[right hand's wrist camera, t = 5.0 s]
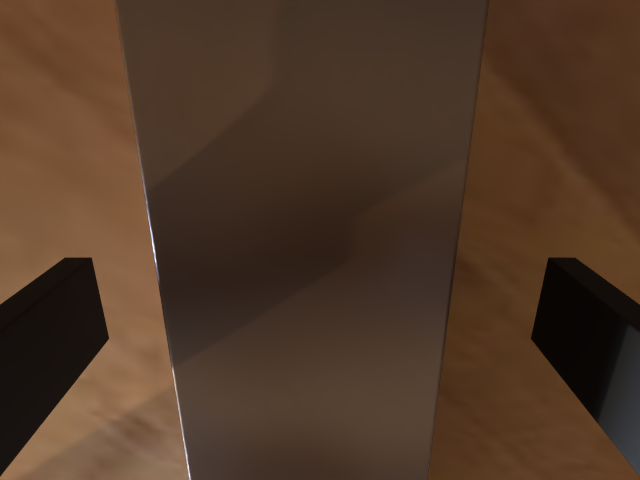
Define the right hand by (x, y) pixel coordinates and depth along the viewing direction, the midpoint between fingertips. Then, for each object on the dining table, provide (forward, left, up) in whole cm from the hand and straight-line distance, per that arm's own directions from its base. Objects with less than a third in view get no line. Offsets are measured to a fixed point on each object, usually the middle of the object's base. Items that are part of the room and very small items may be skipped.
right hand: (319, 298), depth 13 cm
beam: (-9, -16, -4) cm, 19 cm away
